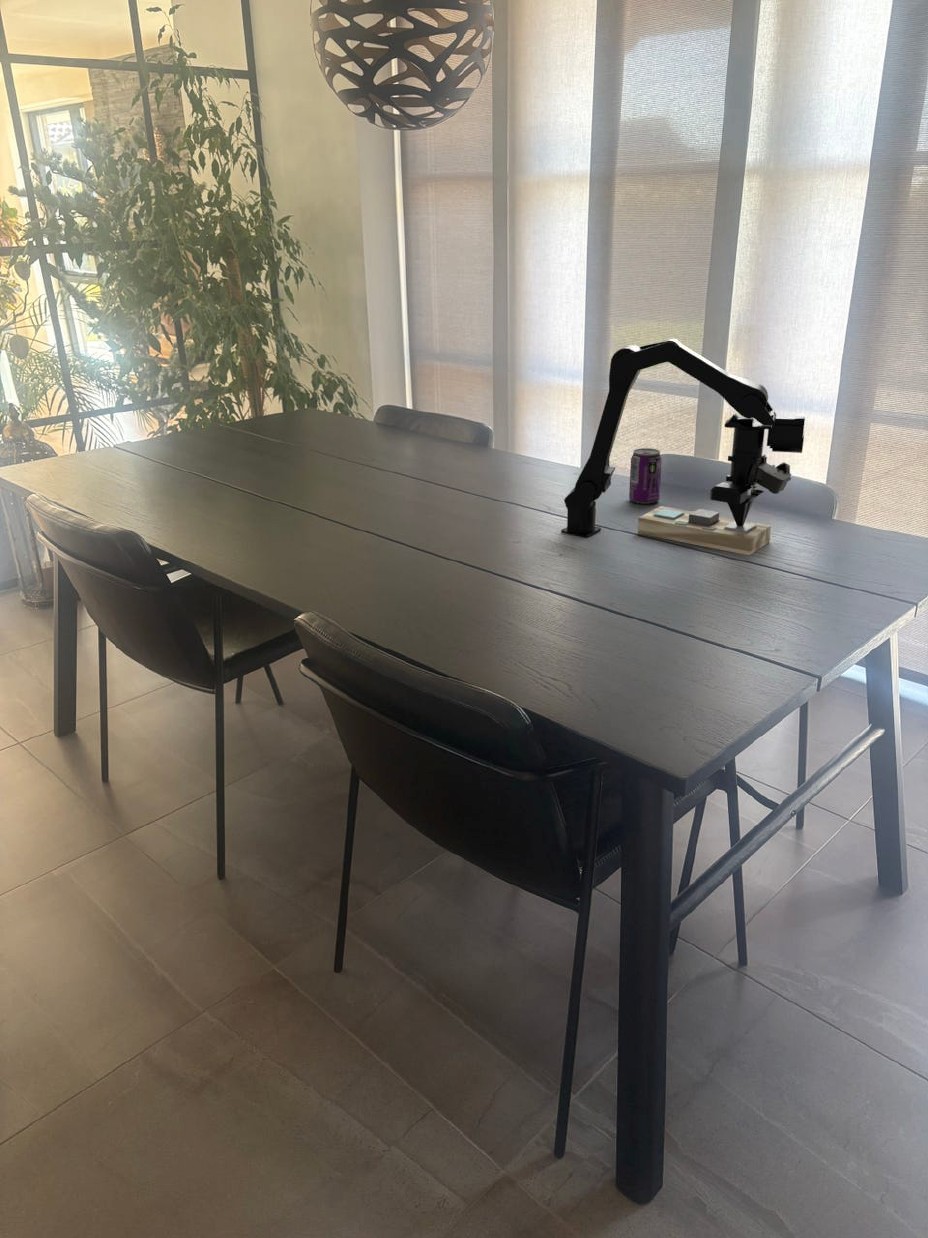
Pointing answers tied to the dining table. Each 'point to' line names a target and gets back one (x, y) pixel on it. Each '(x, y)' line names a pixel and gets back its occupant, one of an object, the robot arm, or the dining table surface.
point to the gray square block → (704, 517)
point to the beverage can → (645, 476)
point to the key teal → (669, 514)
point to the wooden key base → (704, 532)
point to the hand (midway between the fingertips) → (740, 525)
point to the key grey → (744, 529)
